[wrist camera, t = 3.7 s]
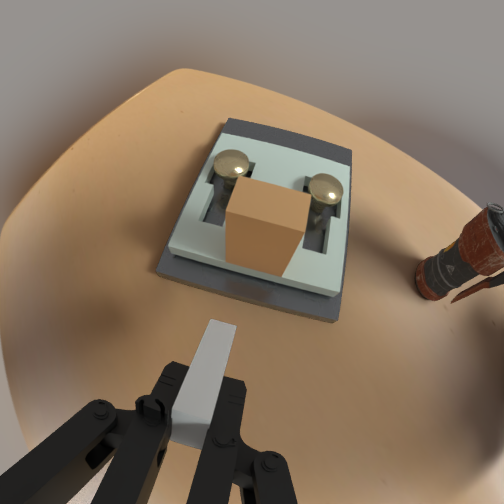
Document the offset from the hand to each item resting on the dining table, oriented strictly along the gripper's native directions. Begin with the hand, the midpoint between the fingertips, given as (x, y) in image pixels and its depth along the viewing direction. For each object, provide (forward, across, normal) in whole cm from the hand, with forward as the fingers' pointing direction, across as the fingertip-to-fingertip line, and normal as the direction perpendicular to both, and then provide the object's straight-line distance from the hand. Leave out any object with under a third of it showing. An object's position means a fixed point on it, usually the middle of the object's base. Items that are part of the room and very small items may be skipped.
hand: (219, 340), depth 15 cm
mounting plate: (+19, +1, +5) cm, 20 cm away
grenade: (+16, +23, +2) cm, 28 cm away
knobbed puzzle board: (+16, +1, +5) cm, 17 cm away
